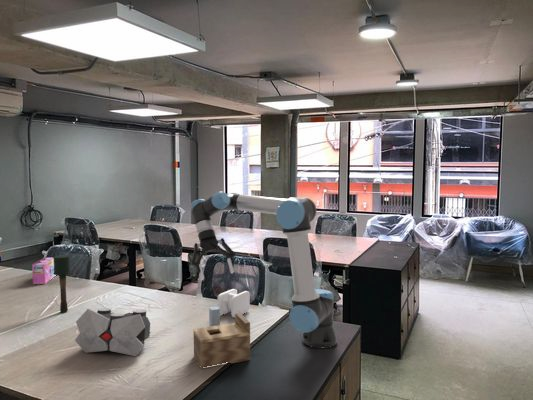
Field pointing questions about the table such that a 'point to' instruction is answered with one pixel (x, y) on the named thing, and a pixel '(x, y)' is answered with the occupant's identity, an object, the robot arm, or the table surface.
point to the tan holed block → (224, 330)
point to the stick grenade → (62, 277)
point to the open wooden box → (222, 350)
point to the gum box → (43, 270)
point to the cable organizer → (234, 302)
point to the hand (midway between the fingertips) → (218, 276)
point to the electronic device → (113, 331)
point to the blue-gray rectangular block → (214, 316)
